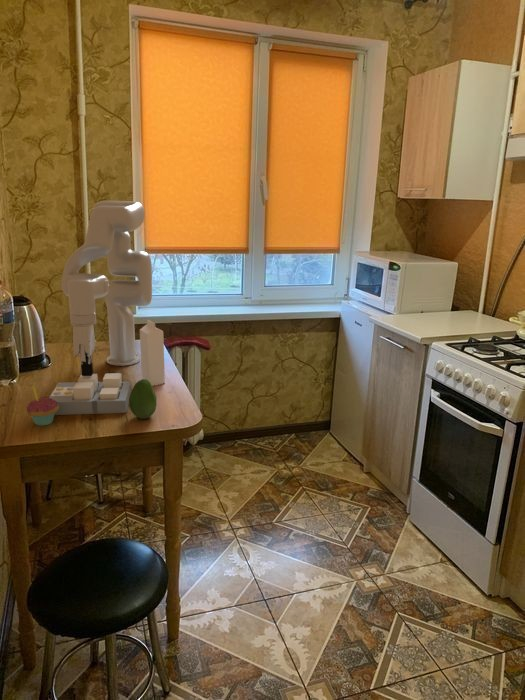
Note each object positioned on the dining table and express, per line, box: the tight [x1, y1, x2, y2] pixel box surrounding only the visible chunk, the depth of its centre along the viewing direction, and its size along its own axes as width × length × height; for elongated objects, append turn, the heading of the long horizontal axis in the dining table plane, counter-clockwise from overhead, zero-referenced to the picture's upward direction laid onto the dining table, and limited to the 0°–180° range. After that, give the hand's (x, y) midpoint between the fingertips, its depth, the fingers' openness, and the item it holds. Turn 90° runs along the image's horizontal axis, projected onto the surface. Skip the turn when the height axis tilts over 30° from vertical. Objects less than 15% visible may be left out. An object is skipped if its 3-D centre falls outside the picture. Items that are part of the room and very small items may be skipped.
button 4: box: [100, 388, 119, 399], centre depth 163 cm, size 5×5×5 cm
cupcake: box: [25, 383, 59, 426], centre depth 151 cm, size 9×8×12 cm
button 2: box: [73, 381, 94, 400], centre depth 162 cm, size 5×5×5 cm
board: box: [48, 380, 133, 416], centre depth 166 cm, size 16×23×4 cm
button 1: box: [77, 373, 99, 390], centre depth 169 cm, size 5×5×5 cm
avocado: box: [128, 378, 158, 420], centre depth 156 cm, size 8×8×12 cm
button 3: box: [102, 372, 123, 390], centre depth 170 cm, size 5×5×5 cm
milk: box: [139, 319, 166, 387], centre depth 182 cm, size 6×6×22 cm
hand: (87, 375), depth 168 cm, fingers closed
